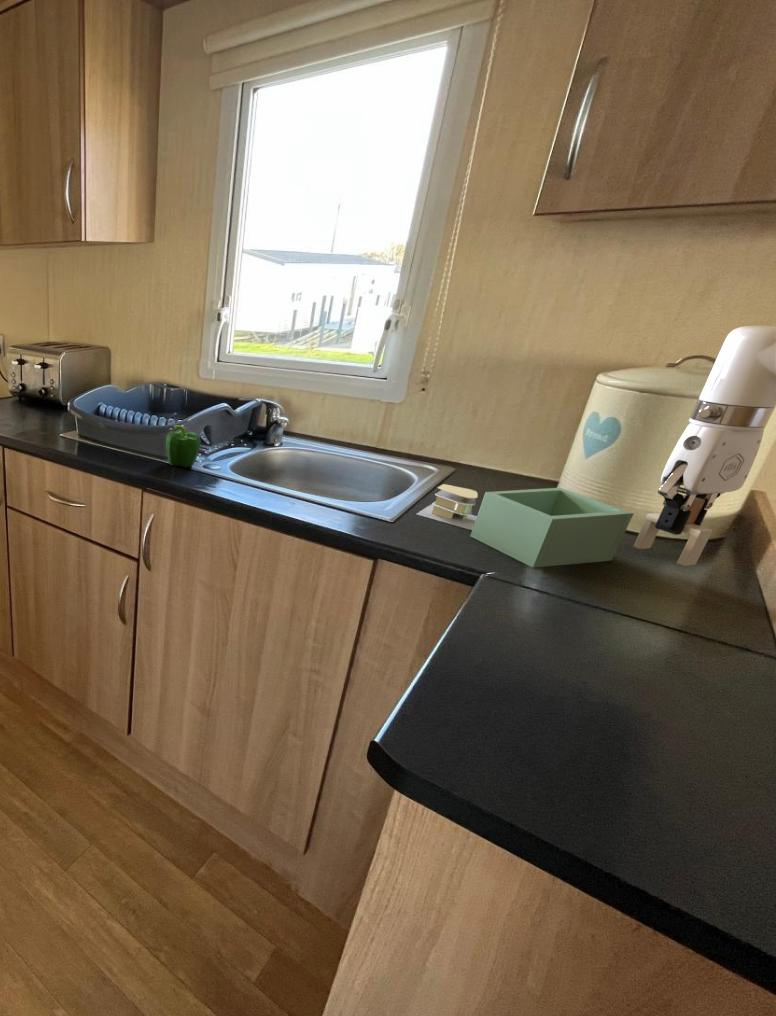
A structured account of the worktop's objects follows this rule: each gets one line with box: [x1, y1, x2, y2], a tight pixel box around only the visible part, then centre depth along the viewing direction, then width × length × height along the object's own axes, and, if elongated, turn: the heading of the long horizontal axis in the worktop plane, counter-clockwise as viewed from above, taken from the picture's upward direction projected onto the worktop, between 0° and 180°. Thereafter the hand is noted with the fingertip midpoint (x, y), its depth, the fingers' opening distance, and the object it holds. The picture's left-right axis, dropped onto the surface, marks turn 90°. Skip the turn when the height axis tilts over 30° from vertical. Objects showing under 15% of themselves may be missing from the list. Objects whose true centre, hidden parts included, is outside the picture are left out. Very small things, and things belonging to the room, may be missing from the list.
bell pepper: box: [165, 425, 201, 468], centre depth 136 cm, size 8×8×10 cm
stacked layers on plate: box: [416, 483, 479, 531], centre depth 109 cm, size 10×9×6 cm
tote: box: [470, 487, 634, 569], centre depth 96 cm, size 16×12×9 cm
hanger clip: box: [632, 494, 714, 567], centre depth 87 cm, size 2×7×10 cm, turn 11°
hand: (675, 529), depth 87 cm, fingers closed on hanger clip, 2 cm apart
